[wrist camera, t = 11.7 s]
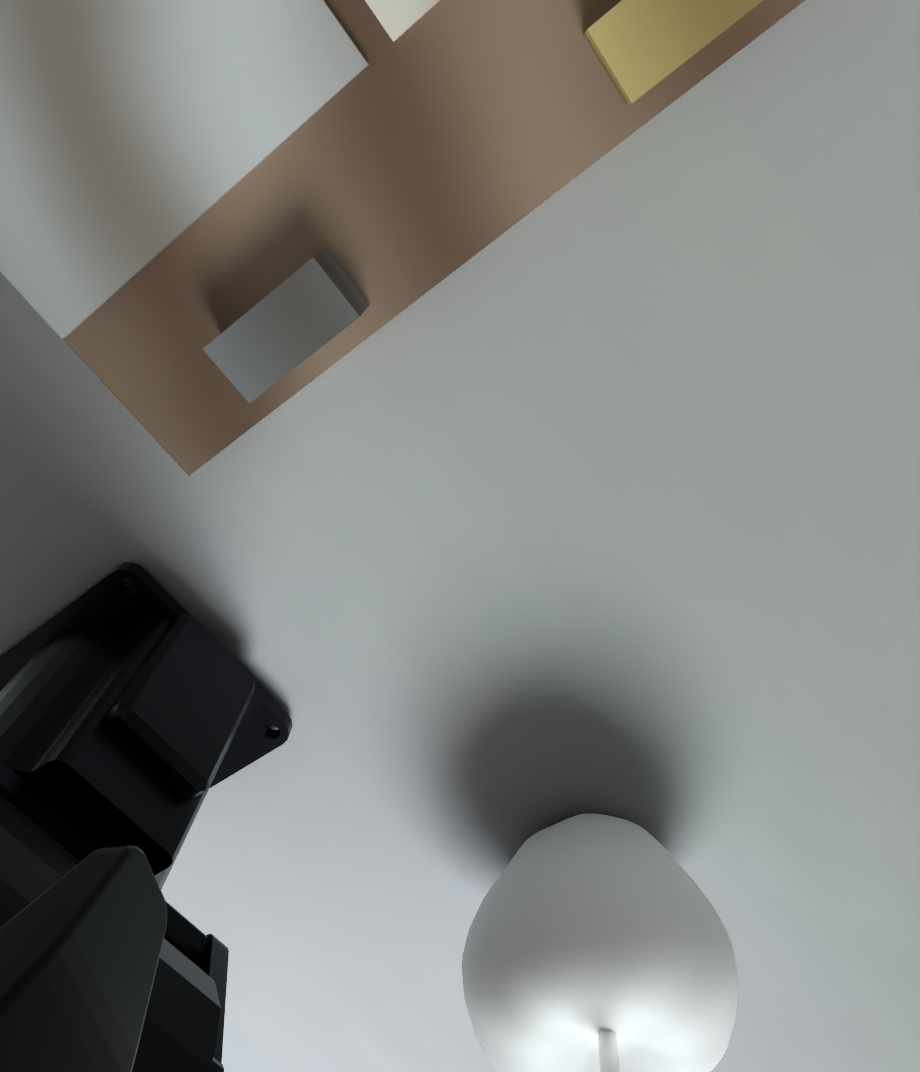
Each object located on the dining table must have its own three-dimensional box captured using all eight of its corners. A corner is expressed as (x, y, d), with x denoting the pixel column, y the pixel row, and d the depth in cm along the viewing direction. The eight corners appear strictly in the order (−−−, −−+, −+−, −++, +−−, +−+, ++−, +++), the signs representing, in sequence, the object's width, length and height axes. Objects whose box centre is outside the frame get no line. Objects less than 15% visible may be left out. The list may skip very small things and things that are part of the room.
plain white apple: (745, 798, 24) (834, 1084, 17) (664, 964, 28) (711, 1264, 20) (502, 744, 24) (490, 1010, 17) (448, 918, 27) (420, 1204, 20)
